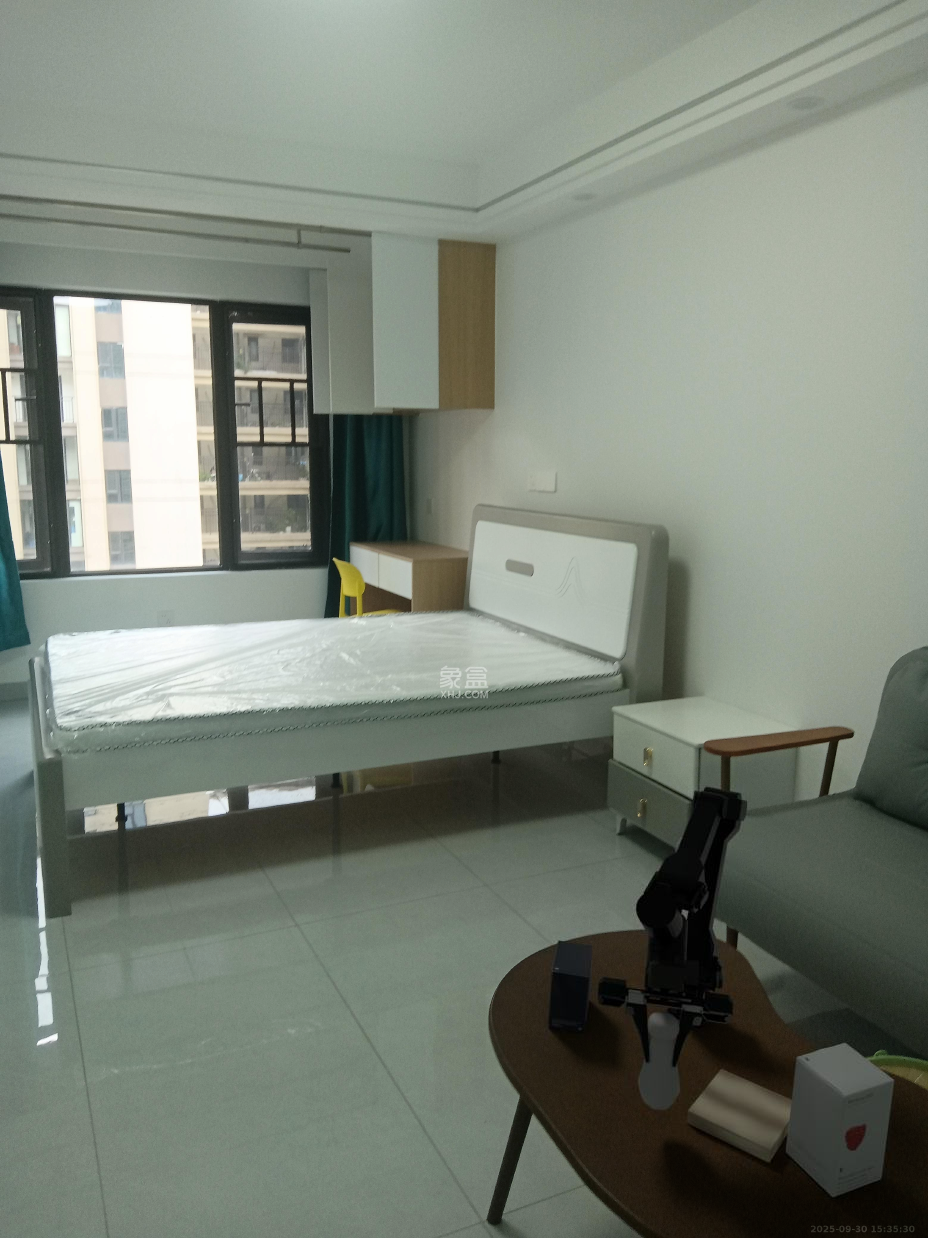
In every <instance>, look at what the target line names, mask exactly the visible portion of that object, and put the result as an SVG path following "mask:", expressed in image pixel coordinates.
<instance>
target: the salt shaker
mask: <svg viewBox="0 0 928 1238" xmlns="http://www.w3.org/2000/svg"><path fill="white" fill-rule="evenodd" d="M647 1021H648V1034H650V1039H649V1062H648V1063H646V1062H645V1058H644V1059H643V1061H642V1062H643V1063H642V1065H641V1068H640V1069H641V1070H640V1073H639V1076H638V1079H637V1081H638V1082H637V1083H638V1090H639V1092H640V1093H639V1094H640V1096H641V1099H642V1101H643V1102H644V1103H645V1104H646V1105H647V1106H648V1107H649V1108H651V1109H652V1110H661V1111H667V1109H669V1108H670V1107H671V1106H672V1105H673V1104H674V1102H675V1101H676V1099H677V1098H678V1096H679V1094H680V1093H681V1085H680V1084H681V1083H680V1075H679V1067H678V1064H677V1065H676V1067H675V1068H674V1067H673V1056H674V1049H675V1043H676V1037H677V1035H678V1033H679V1020H678V1019H677V1018H676V1016H674V1015H672V1014H670V1013H668V1012H667V1011H662V1010H660V1011H655V1012H653V1013H652V1014H650V1015H649V1017H648V1018H647Z"/></svg>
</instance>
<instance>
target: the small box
mask: <svg viewBox="0 0 928 1238" xmlns="http://www.w3.org/2000/svg"><path fill="white" fill-rule="evenodd" d="M554 952H555V954H554V958H553V962H552V967H551V974H550V989H549V1004H548V1006H549V1007H548V1018H547V1028H549V1029H550V1028H551V1029H556V1030H563V1031H568V1032H569V1031H570V1032H574V1033H580V1034H581V1033H582V1034H583V1033H585V1029H586V1023H587V1017H588V1011H589V1004H590V995H591V986H592V985H591V984H592V968H593V945H590V944H585V943H577V942H571V941H567V940H566V941H565V940H557V944H556V949H555V951H554Z"/></svg>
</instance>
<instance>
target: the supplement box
mask: <svg viewBox="0 0 928 1238" xmlns="http://www.w3.org/2000/svg"><path fill="white" fill-rule="evenodd" d="M794 1069H795V1070H794V1080H793V1087H792V1095H791V1100H792V1102H791V1111H790V1119H789V1128H788V1134H787V1135H786V1137H787V1138H786V1144H785V1145H786V1146H785V1153H786V1154H787V1155H788V1156H789V1157H790V1158H791V1159H792V1160H793V1161H794V1162H796V1164H798V1165H799V1166H800V1167H801V1168H802V1169H803V1170H804V1171H805V1172H806V1174H808V1176H810V1177H811V1178H812V1179H813V1180H814V1181H815V1182H816V1183H817V1184H818V1185H819V1186H820V1187H821V1188H822V1189H824V1190H825V1192H826V1193H828V1195H829V1196H831V1197H832V1198H835V1197H838V1196H840V1195H844V1194H845V1193H849V1192H851V1191H854V1190H856V1189H859V1188H862V1187H864V1186H866V1185H870V1184H871V1183H874V1182H878V1181H880V1180H882V1178H883V1169H884V1160H885V1154H886V1146H887V1145H886V1144H887V1140H888V1139H887V1137H888V1132H889V1131H888V1129H889V1123H890V1116H891V1109H892V1100H893V1093H894V1085H895V1079H893V1078H892V1077H891V1076H890V1075H888V1074H887V1073H885V1072H884V1071H883V1070H882V1069H880V1068H878V1067H877V1066H876V1065H875V1064H873V1063H872V1062H871V1061H869V1060H868V1059H867V1058H866V1057H864V1056H863V1055H862V1054H860V1053H859V1052H858V1051H857V1050H855V1049H854V1047H851V1046H850V1045H849V1044H847V1043H846V1042H844V1043H840V1044H837V1045H833V1046H830V1047H825V1048H820V1049H817V1050H815V1051H813V1052H810V1053H806V1054H802V1055H800V1056H796V1062H795V1068H794Z"/></svg>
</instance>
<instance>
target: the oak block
mask: <svg viewBox="0 0 928 1238" xmlns="http://www.w3.org/2000/svg"><path fill="white" fill-rule="evenodd" d="M791 1102H792V1098H789V1097H786V1096H784V1095H781V1094H779V1093H777V1092H774V1091H772V1090H771V1089H768V1088H765V1087H764V1086H762V1085H759V1084H757V1083H755V1082H752V1081H750V1080H747V1079H745V1078H743V1077H741V1076H739V1075H737V1074H734V1073H731V1072H729V1071H727V1070H725V1069H722V1068H720V1070H719V1071H718V1073H717V1074H716V1075H714V1077H713V1079H712V1080H711V1081H710V1082H709V1084H708V1085H707V1086H706V1087H705V1089H704V1090H703V1091H702V1093H700V1095H699V1096H698V1098H697V1099H696V1100H695V1101H694V1103H693V1104H692V1105H691V1106H690V1108H689V1109H688V1110H687V1119H686V1121H687V1122H686V1124H689V1125H690V1126H692V1127H694V1128H696V1129H698V1130H701V1131H703V1132H705V1133H707V1134H708V1135H711V1136H713V1137H715V1138H717V1139H719V1140H721V1141H723V1142H725V1143H727V1144H730V1145H731V1146H733V1147H735V1148H737V1149H740V1150H742V1151H744V1152H746V1153H748V1154H749V1155H752V1156H753V1157H756V1158H758V1159H760V1160H762V1161H765V1162H766V1163H770V1162H771V1160H772V1159H773V1158H774V1157H775V1154H776V1152H777V1151H778V1150H779V1148H780V1146H781V1145H782V1144H783V1141H784V1139H785V1138H786V1137H787V1136H788V1128H789V1119H790V1111H791Z"/></svg>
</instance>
